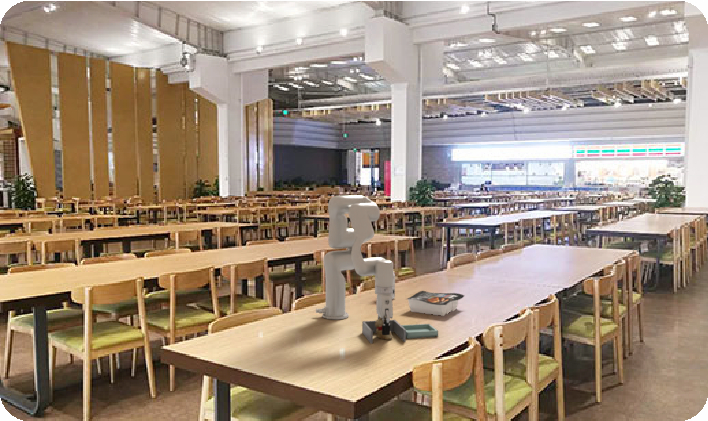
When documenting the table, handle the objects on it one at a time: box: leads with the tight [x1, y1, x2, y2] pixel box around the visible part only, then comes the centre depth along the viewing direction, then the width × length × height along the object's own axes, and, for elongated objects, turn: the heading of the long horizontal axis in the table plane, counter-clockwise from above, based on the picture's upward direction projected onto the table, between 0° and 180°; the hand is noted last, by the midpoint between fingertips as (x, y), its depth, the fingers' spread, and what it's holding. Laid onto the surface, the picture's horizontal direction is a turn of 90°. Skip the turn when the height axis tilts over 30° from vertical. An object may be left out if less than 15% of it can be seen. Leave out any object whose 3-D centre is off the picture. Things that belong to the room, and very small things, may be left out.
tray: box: [400, 323, 439, 339], centre depth 240 cm, size 14×12×2 cm
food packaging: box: [406, 290, 465, 317], centre depth 283 cm, size 25×8×23 cm
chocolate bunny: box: [375, 317, 393, 340], centre depth 233 cm, size 6×8×10 cm
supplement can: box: [392, 270, 396, 300], centre depth 310 cm, size 8×8×15 cm
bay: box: [361, 319, 407, 345], centre depth 235 cm, size 15×16×5 cm
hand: (383, 331), depth 234 cm, fingers closed on chocolate bunny, 6 cm apart
